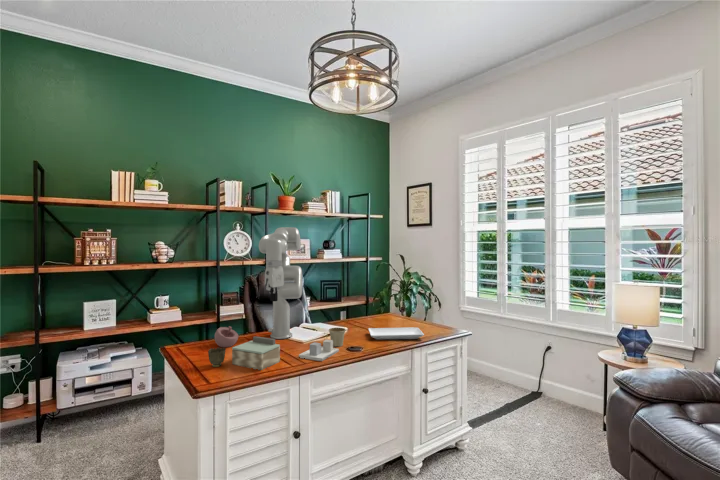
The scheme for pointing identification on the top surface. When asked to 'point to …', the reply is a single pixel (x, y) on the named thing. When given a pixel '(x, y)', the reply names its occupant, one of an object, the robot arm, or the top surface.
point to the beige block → (327, 345)
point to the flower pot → (337, 336)
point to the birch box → (256, 359)
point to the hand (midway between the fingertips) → (273, 301)
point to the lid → (257, 345)
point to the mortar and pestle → (225, 337)
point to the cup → (216, 356)
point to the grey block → (315, 348)
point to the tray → (395, 333)
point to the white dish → (319, 357)
